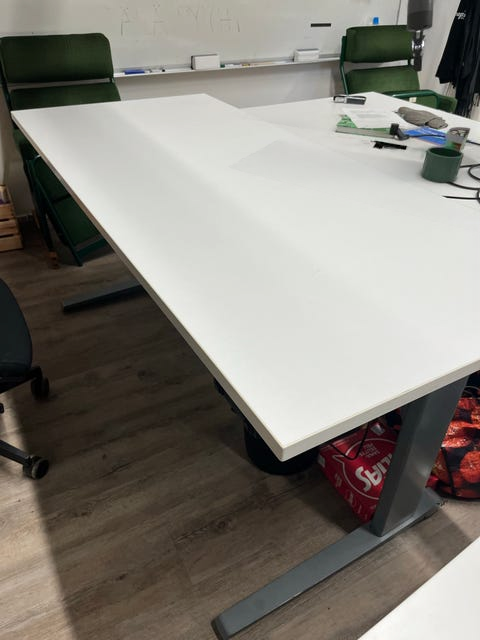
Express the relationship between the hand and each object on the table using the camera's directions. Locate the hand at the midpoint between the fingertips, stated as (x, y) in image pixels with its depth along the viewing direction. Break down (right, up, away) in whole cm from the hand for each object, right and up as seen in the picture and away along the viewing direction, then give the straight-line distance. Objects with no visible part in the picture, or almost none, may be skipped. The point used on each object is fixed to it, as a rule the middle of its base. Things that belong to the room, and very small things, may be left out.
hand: (417, 70), depth 153 cm
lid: (-3, -17, +17) cm, 24 cm away
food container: (+12, -28, +5) cm, 31 cm away
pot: (+4, -36, -6) cm, 37 cm away
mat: (-3, -18, +17) cm, 25 cm away
